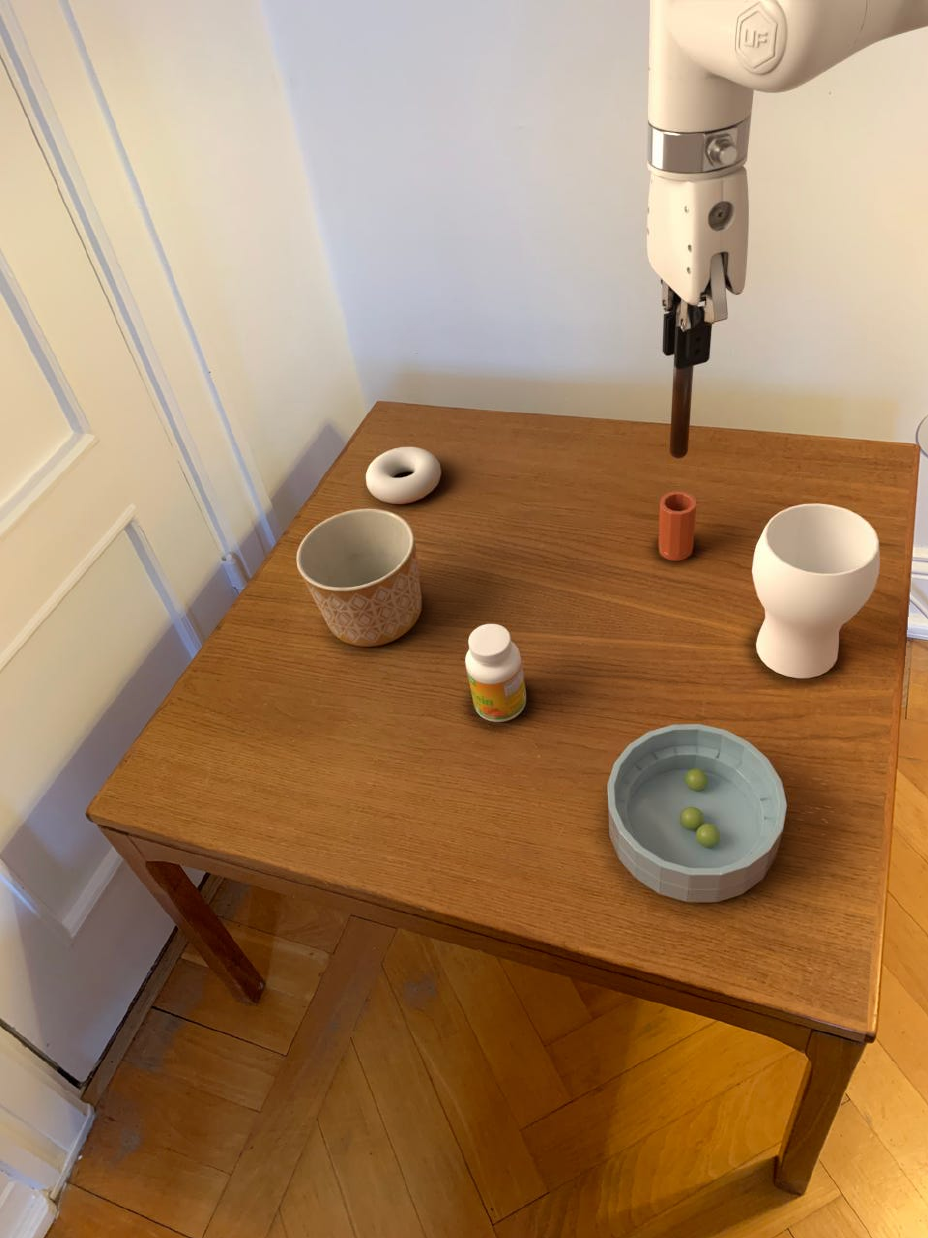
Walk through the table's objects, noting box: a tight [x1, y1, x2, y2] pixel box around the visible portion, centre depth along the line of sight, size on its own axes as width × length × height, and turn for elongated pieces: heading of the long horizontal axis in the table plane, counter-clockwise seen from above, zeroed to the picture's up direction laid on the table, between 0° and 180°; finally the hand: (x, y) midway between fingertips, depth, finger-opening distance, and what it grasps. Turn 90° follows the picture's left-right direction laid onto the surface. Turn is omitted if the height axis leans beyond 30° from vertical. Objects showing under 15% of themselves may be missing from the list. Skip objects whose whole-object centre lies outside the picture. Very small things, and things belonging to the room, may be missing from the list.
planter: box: [296, 508, 423, 648], centre depth 94 cm, size 13×13×10 cm
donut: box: [365, 446, 442, 505], centre depth 112 cm, size 10×4×10 cm
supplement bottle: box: [464, 623, 527, 723], centre depth 83 cm, size 5×5×10 cm
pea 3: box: [696, 824, 721, 848], centre depth 72 cm, size 2×2×2 cm
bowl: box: [606, 723, 788, 903], centre depth 73 cm, size 14×14×6 cm
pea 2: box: [680, 807, 704, 830], centre depth 74 cm, size 2×2×2 cm
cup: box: [751, 503, 881, 679], centre depth 81 cm, size 11×11×15 cm
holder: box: [658, 490, 698, 562], centre depth 96 cm, size 4×4×7 cm
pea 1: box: [685, 768, 708, 791], centre depth 76 cm, size 2×2×2 cm
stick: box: [669, 302, 698, 460], centre depth 81 cm, size 2×2×17 cm
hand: (685, 356), depth 79 cm, fingers closed on stick, 1 cm apart
